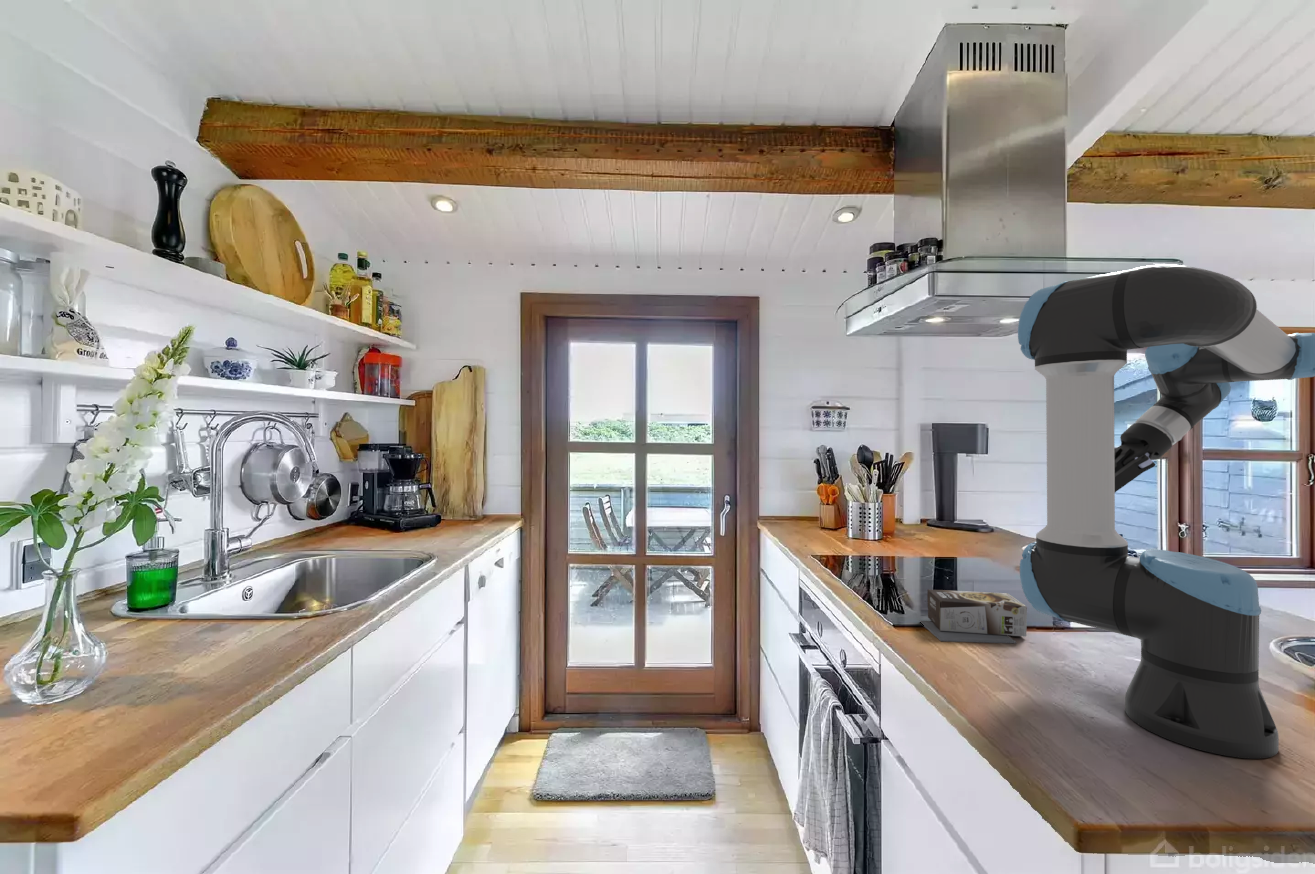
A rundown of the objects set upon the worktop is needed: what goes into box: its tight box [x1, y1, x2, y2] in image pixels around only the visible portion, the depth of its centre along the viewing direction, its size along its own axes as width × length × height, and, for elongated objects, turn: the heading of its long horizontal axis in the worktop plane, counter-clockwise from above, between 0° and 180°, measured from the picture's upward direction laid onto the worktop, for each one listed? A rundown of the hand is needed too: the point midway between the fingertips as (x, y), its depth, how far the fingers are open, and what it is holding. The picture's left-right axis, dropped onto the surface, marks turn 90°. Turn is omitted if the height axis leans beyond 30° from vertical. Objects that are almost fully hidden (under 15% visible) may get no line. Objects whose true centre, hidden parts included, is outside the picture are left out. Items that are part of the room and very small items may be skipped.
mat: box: [918, 620, 1017, 644], centre depth 114 cm, size 14×11×1 cm
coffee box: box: [926, 588, 1028, 638], centre depth 116 cm, size 9×6×16 cm
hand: (1064, 515), depth 113 cm, fingers closed
